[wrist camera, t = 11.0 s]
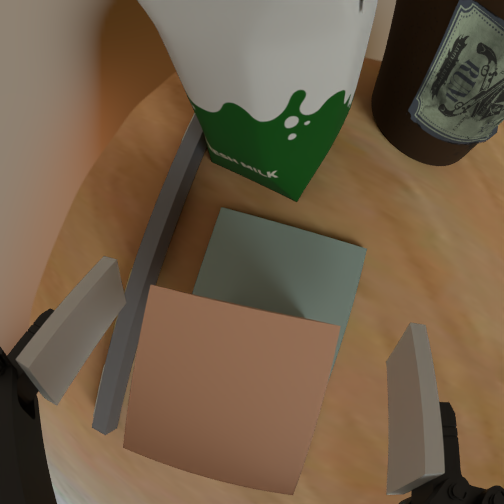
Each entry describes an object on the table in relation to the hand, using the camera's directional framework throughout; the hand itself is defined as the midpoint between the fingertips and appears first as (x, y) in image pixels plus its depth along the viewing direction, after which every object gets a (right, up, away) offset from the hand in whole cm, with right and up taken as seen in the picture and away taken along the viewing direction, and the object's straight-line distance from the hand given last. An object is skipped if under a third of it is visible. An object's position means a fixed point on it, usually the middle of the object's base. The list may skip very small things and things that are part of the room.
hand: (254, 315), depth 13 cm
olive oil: (+14, +14, +9) cm, 22 cm away
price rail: (-7, +3, +8) cm, 11 cm away
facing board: (0, -3, +7) cm, 7 cm away
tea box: (0, -3, +6) cm, 7 cm away
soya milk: (+2, +11, +9) cm, 14 cm away
